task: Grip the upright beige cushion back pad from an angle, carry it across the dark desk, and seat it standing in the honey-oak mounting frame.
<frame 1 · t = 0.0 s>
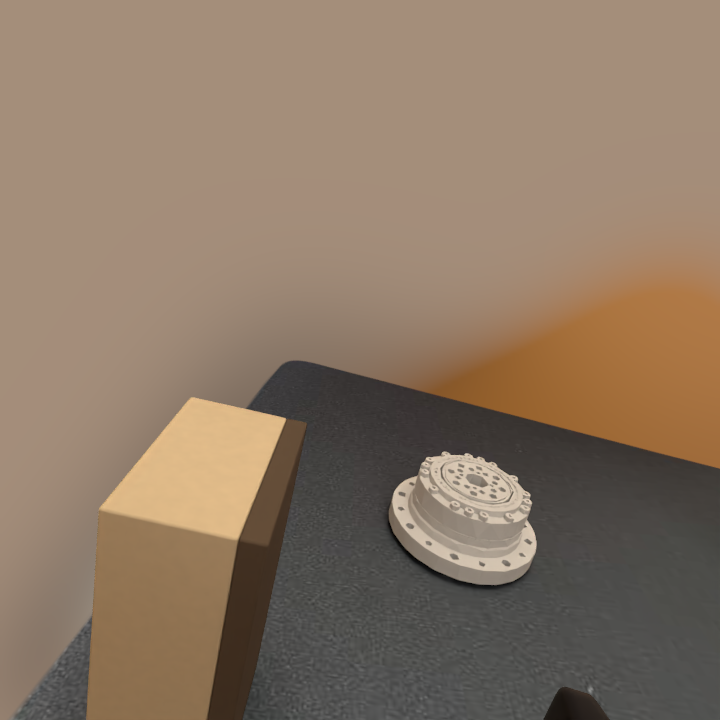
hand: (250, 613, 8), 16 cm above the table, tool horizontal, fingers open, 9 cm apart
mechanical component: (457, 536, 38), on the table
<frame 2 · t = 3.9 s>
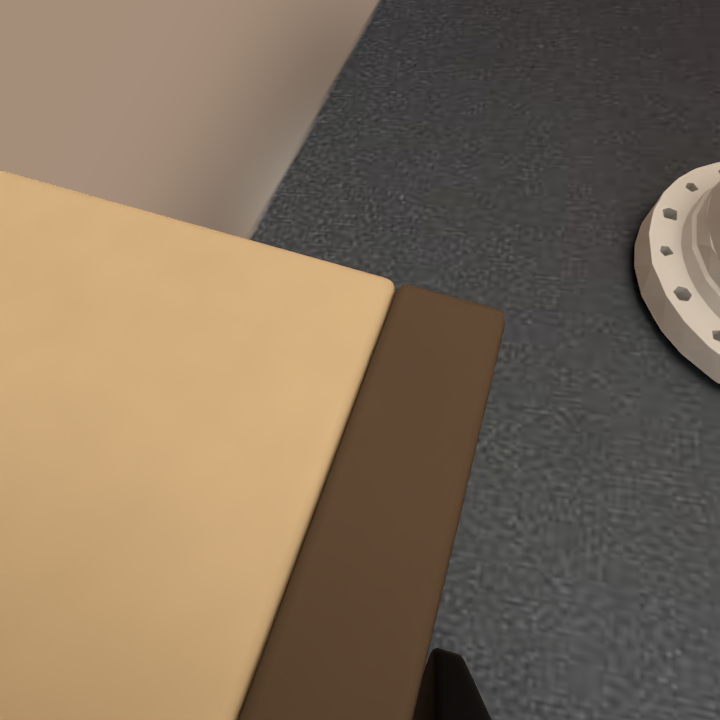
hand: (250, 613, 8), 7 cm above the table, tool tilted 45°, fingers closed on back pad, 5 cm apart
back pad: (253, 697, 14), on the table, touching gripper
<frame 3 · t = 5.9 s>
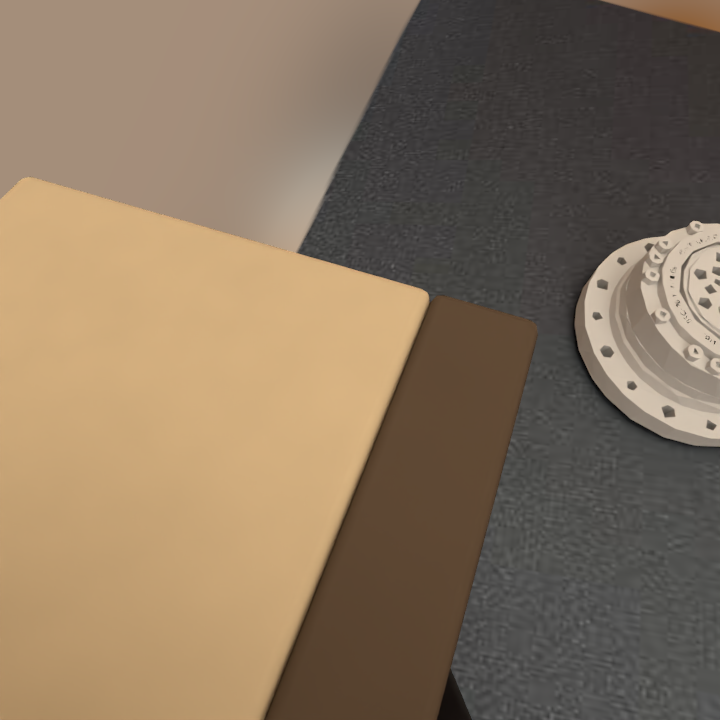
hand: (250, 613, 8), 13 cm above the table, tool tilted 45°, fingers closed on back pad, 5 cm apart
back pad: (283, 707, 14), point 6 cm above the table, tilted 8°, touching gripper
mechanical component: (677, 345, 26), on the table
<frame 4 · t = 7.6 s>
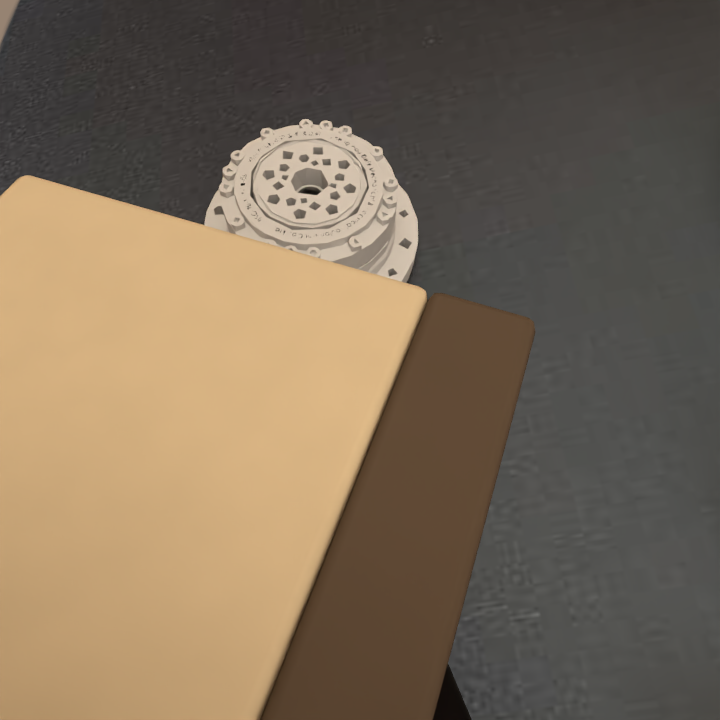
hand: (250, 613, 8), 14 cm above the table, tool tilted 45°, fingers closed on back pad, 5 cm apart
back pad: (282, 707, 14), point 6 cm above the table, tilted 8°, touching gripper
mechanical component: (313, 247, 27), on the table
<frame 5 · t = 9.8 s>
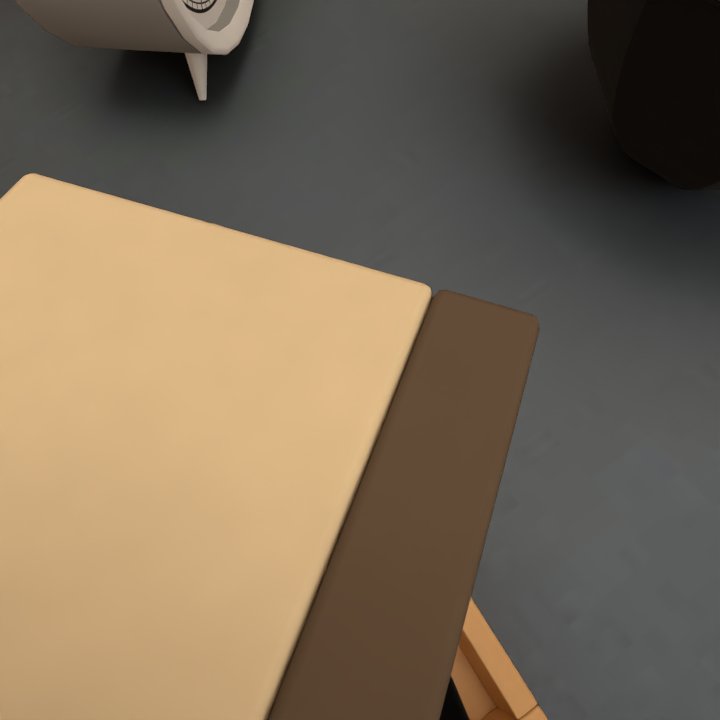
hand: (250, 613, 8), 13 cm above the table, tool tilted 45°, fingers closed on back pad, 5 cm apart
back pad: (283, 705, 14), point 6 cm above the table, tilted 8°, touching gripper
mount frame: (296, 651, 20), on the table
table lamp: (674, 153, 31), on the table
alarm clock: (179, 41, 33), on the table
when the fingers open (8 cm above the table, at t = 11.8 s): back pad stays where it is, resting on mount frame.
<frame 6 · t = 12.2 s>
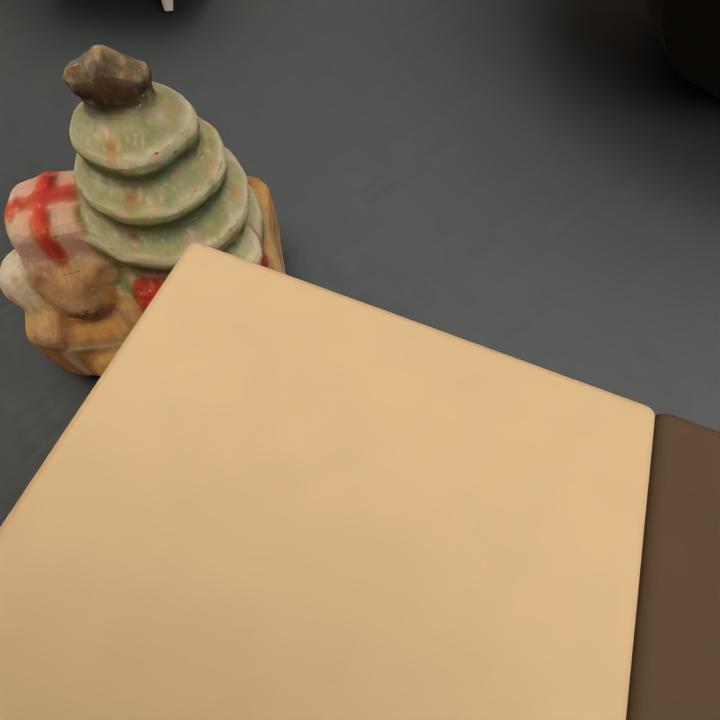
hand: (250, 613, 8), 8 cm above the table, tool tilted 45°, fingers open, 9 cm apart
back pad: (286, 708, 14), point 1 cm above the table, tilted 5°, touching mount frame
ornament: (182, 311, 20), on the table
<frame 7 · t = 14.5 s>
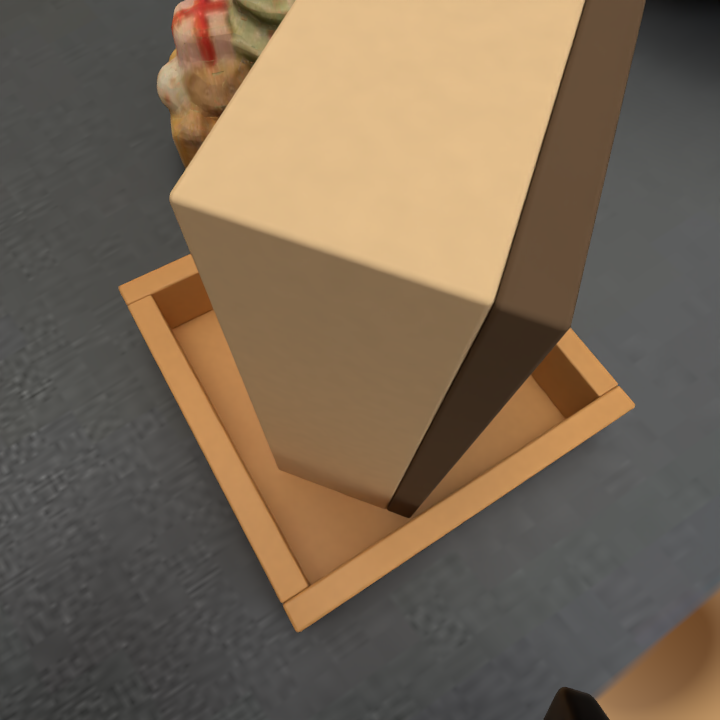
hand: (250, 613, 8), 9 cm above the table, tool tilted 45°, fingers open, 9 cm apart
back pad: (379, 397, 19), point 1 cm above the table, touching mount frame
mount frame: (365, 381, 20), on the table
ornament: (274, 147, 24), on the table
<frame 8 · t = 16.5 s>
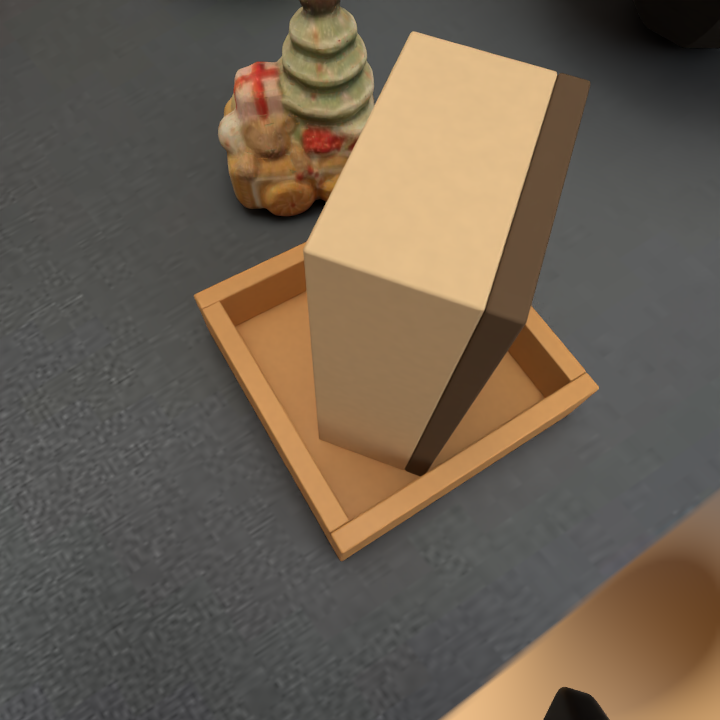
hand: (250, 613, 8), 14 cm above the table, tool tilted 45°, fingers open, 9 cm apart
back pad: (397, 383, 24), point 1 cm above the table, touching mount frame
mount frame: (385, 371, 25), on the table
table lamp: (681, 27, 36), on the table
ornament: (306, 177, 29), on the table
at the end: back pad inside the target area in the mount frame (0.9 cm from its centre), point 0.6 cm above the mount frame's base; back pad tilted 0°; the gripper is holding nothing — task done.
